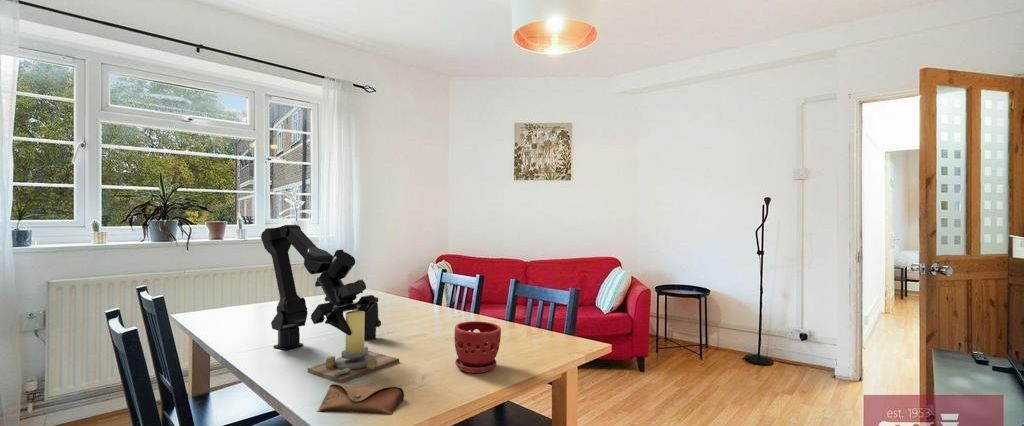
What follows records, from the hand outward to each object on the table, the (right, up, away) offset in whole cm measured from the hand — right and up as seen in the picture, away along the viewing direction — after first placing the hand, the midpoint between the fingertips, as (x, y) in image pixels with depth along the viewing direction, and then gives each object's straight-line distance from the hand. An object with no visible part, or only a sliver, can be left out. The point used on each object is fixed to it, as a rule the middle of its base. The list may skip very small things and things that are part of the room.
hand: (358, 332), depth 130 cm
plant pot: (+33, -11, +1) cm, 35 cm away
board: (-1, -10, +1) cm, 10 cm away
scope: (-7, -10, +30) cm, 32 cm away
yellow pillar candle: (-1, -7, +1) cm, 7 cm away
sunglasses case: (+9, -11, -25) cm, 28 cm away
